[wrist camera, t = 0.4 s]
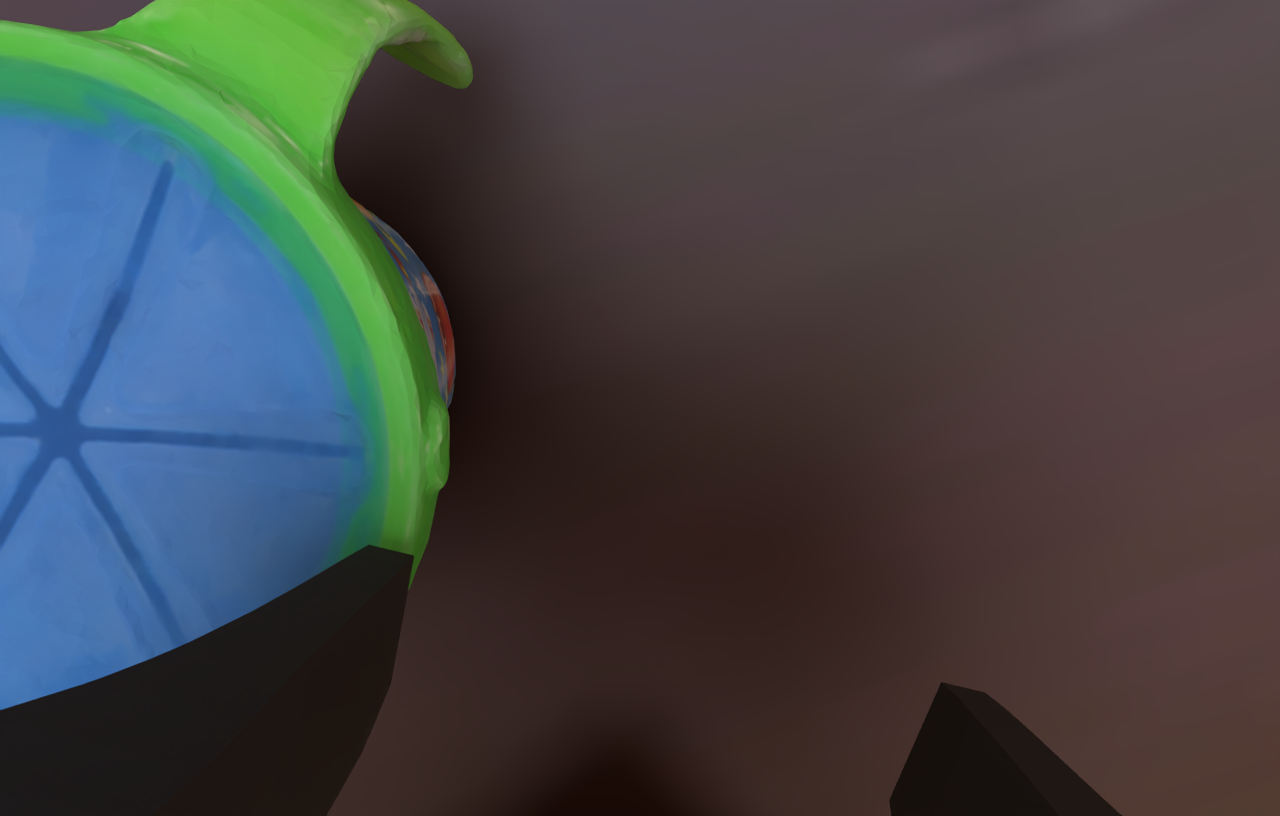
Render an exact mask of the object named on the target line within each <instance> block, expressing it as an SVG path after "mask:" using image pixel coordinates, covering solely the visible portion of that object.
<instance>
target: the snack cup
mask: <svg viewBox="0 0 1280 816" xmlns="http://www.w3.org/2000/svg"><path fill="white" fill-rule="evenodd" d="M380 48H382V49H383V50H384V51H386V52H387V53H389V54H390V55H391V56H393V57H394V58H396V59H397V60H399V61H401V62H403V63H405V64H407V65H409V66H411V67H412V68H414V69H416V70H418V71H419V72H421V73H423V74H425V75H427V76H428V77H430V78H432V79H434V80H437V81H439V82H441V83H444V84H446V85H449V86H451V87H453V88H457V89H465V88H467V87H468V86H469V85H470V84H471V82H472V80H473V68H472V65H471V62H470V60H469V57H468V55H467V53H466V52H465V50H464V49H463V48H462V46H461V45H460V44H459V43H458V42H457V40H456V39H455V37H454V36H453V35H452V34H451V33H450V32H449V31H448V30H447V29H446V28H445V27H443V26H442V25H441V24H440V23H438V22H437V21H436V20H435V19H433V18H432V17H431V16H430V15H428V14H427V13H426V12H425V11H423V10H422V9H421V8H419V7H418V6H416V5H415V4H413V3H411V2H409V1H407V0H155V1H154V2H152V3H150V4H149V5H147V6H146V7H145V8H143V9H142V10H140V11H139V12H137V13H136V14H135V15H133V16H132V17H129V18H126V19H123V20H120V21H119V22H118V23H117V24H116V25H115V26H113V27H110V28H107V29H103V30H100V31H85V32H71V31H65V30H60V29H54V28H49V27H43V26H38V25H32V24H25V23H18V22H11V21H4V20H0V710H2V709H5V708H8V707H12V706H15V705H18V704H21V703H24V702H27V701H31V700H34V699H37V698H40V697H43V696H47V695H50V694H53V693H56V692H59V691H63V690H66V689H69V688H72V687H75V686H78V685H82V684H85V683H87V682H90V681H93V680H96V679H99V678H102V677H104V676H107V675H109V674H112V673H115V672H117V671H120V670H122V669H125V668H128V667H130V666H133V665H135V664H138V663H141V662H143V661H146V660H148V659H151V658H153V657H156V656H158V655H160V654H163V653H165V652H167V651H170V650H172V649H175V648H177V647H179V646H181V645H184V644H186V643H188V642H190V641H192V640H194V639H196V638H199V637H201V636H203V635H205V634H207V633H209V632H211V631H213V630H215V629H217V628H219V627H221V626H223V625H225V624H227V623H229V622H231V621H233V620H235V619H237V618H239V617H241V616H243V615H245V614H247V613H249V612H251V611H253V610H255V609H257V608H259V607H260V606H262V605H264V604H266V603H268V602H269V601H271V600H273V599H275V598H277V597H278V596H280V595H282V594H284V593H286V592H287V591H289V590H291V589H293V588H295V587H296V586H298V585H300V584H301V583H303V582H305V581H307V580H308V579H310V578H312V577H313V576H315V575H317V574H319V573H320V572H322V571H324V570H325V569H327V568H329V567H330V566H332V565H334V564H335V563H337V562H339V561H340V560H342V559H344V558H346V557H347V556H349V555H351V554H353V553H355V552H356V551H358V550H360V549H362V548H364V547H365V546H367V545H373V546H377V547H381V548H385V549H389V550H394V551H398V552H402V553H406V554H410V555H414V561H413V566H412V571H411V577H410V582H409V587H408V589H409V588H410V586H411V583H412V581H413V578H414V575H415V573H416V570H417V567H418V565H419V563H420V560H421V558H422V556H423V553H424V551H425V548H426V545H427V543H428V540H429V536H430V531H431V526H432V521H433V516H434V512H435V507H436V502H437V497H438V493H439V491H440V489H441V488H443V486H444V485H445V483H446V482H447V479H448V474H449V467H450V459H449V444H450V422H449V415H448V410H447V409H448V407H449V405H450V403H451V401H452V396H453V390H454V379H455V375H456V365H455V348H454V338H453V333H452V328H451V323H450V319H449V315H448V311H447V308H446V305H445V302H444V300H443V297H442V295H441V293H440V291H439V289H438V286H437V284H436V282H435V281H434V279H433V277H432V276H431V274H430V273H429V271H428V270H427V268H426V267H425V265H424V264H423V262H422V261H421V260H420V259H419V258H418V256H417V255H416V254H415V252H414V251H413V250H412V248H411V247H410V246H409V245H408V244H407V243H406V242H405V241H404V239H403V238H402V237H401V236H400V235H399V234H398V233H397V232H396V231H395V230H394V229H392V228H391V227H390V226H389V225H388V224H386V223H385V222H383V221H382V220H380V219H379V218H378V217H377V216H376V215H375V214H373V213H372V212H371V211H369V210H367V209H365V208H364V207H363V206H362V205H361V204H359V203H357V202H356V201H355V200H353V199H352V198H351V197H349V195H348V194H347V192H346V191H345V189H344V187H343V186H342V184H341V183H340V181H339V178H338V176H337V173H336V169H335V163H334V147H335V140H336V137H337V135H338V132H339V129H340V127H341V124H342V121H343V119H344V116H345V113H346V109H347V106H348V103H349V101H350V99H351V97H352V95H353V93H354V91H355V90H356V88H357V86H358V84H359V82H360V80H361V78H362V77H363V75H364V73H365V71H366V70H367V68H368V67H369V65H370V63H371V61H372V59H373V57H374V55H375V53H376V51H377V50H378V49H380Z"/></svg>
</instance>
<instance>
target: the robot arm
mask: <svg viewBox="0 0 1280 816" xmlns="http://www.w3.org/2000/svg"><path fill="white" fill-rule="evenodd" d="M413 561H414V555H410V554H406V553H402V552H398V551H394V550H389V549H385V548H381V547H377V546H373V545H367V546H365V547H364V548H362V549H360V550H358V551H356V552H355V553H353V554H351V555H349V556H347V557H346V558H344V559H342V560H340V561H339V562H337V563H335V564H334V565H332V566H330V567H329V568H327V569H325V570H324V571H322V572H320V573H319V574H317V575H315V576H313V577H312V578H310V579H308V580H307V581H305V582H303V583H301V584H300V585H298V586H296V587H295V588H293V589H291V590H289V591H287V592H286V593H284V594H282V595H280V596H278V597H277V598H275V599H273V600H271V601H269V602H268V603H266V604H264V605H262V606H260V607H259V608H257V609H255V610H253V611H251V612H249V613H247V614H245V615H243V616H241V617H239V618H237V619H235V620H233V621H231V622H229V623H227V624H225V625H223V626H221V627H219V628H217V629H215V630H213V631H211V632H209V633H207V634H205V635H203V636H201V637H199V638H196V639H194V640H192V641H190V642H188V643H186V644H184V645H181V646H179V647H177V648H175V649H172V650H170V651H167V652H165V653H163V654H160V655H158V656H156V657H153V658H151V659H148V660H146V661H143V662H141V663H138V664H135V665H133V666H130V667H128V668H125V669H122V670H120V671H117V672H115V673H112V674H109V675H107V676H104V677H102V678H99V679H96V680H93V681H90V682H87V683H85V684H82V685H78V686H75V687H72V688H69V689H66V690H63V691H59V692H56V693H53V694H50V695H47V696H43V697H40V698H37V699H34V700H31V701H27V702H24V703H21V704H18V705H15V706H12V707H8V708H5V709H2V710H0V816H326V815H327V814H328V812H329V810H330V808H331V806H332V805H333V803H334V801H335V799H336V798H337V796H338V794H339V792H340V790H341V789H342V787H343V785H344V783H345V782H346V780H347V778H348V776H349V775H350V773H351V771H352V769H353V767H354V766H355V764H356V762H357V760H358V758H359V757H360V755H361V753H362V751H363V748H364V746H365V744H366V741H367V739H368V737H369V734H370V732H371V730H372V727H373V725H374V723H375V720H376V718H377V716H378V713H379V711H380V708H381V706H382V703H383V701H384V699H385V696H386V694H387V691H388V689H389V686H390V684H391V679H392V673H393V668H394V663H395V657H396V652H397V647H398V641H399V636H400V630H401V625H402V620H403V614H404V609H405V604H406V598H407V593H408V587H409V582H410V577H411V571H412V566H413ZM889 801H890V808H891V815H892V816H1122V815H1121V814H1119V813H1118V812H1117V811H1116V810H1115V809H1114V808H1113V807H1112V806H1111V805H1110V804H1108V803H1107V802H1106V801H1105V800H1104V799H1103V798H1102V797H1101V796H1100V795H1099V794H1098V793H1097V792H1095V791H1094V790H1093V789H1092V788H1091V787H1090V786H1089V785H1088V784H1087V783H1086V782H1085V781H1084V780H1082V779H1081V778H1080V777H1079V776H1078V775H1077V774H1076V773H1075V772H1074V771H1073V770H1072V769H1071V768H1070V767H1069V766H1067V765H1066V764H1065V763H1064V762H1063V761H1062V760H1061V759H1060V758H1059V757H1058V756H1057V755H1056V754H1055V753H1054V752H1052V751H1051V750H1050V749H1049V748H1048V747H1047V746H1046V745H1045V744H1044V743H1043V742H1042V741H1041V740H1040V739H1039V738H1037V737H1036V736H1035V735H1034V734H1033V733H1032V732H1031V731H1030V730H1029V729H1028V728H1026V727H1025V726H1024V725H1023V724H1022V723H1021V722H1020V721H1019V720H1018V719H1016V718H1015V717H1014V716H1013V715H1012V714H1011V713H1010V712H1008V711H1007V710H1006V709H1005V708H1004V707H1003V706H1001V705H1000V704H999V703H998V702H996V701H995V700H994V699H992V698H991V697H990V696H989V695H987V694H986V693H984V692H980V691H976V690H972V689H967V688H963V687H959V686H955V685H951V684H947V683H942V682H941V684H940V687H939V689H938V691H937V693H936V696H935V698H934V700H933V702H932V705H931V707H930V709H929V711H928V714H927V716H926V718H925V721H924V723H923V725H922V727H921V730H920V732H919V734H918V736H917V739H916V741H915V743H914V746H913V748H912V750H911V752H910V755H909V757H908V759H907V761H906V764H905V766H904V768H903V770H902V773H901V775H900V777H899V780H898V782H897V784H896V786H895V789H894V791H893V793H892V795H891V798H890V800H889Z"/></svg>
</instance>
